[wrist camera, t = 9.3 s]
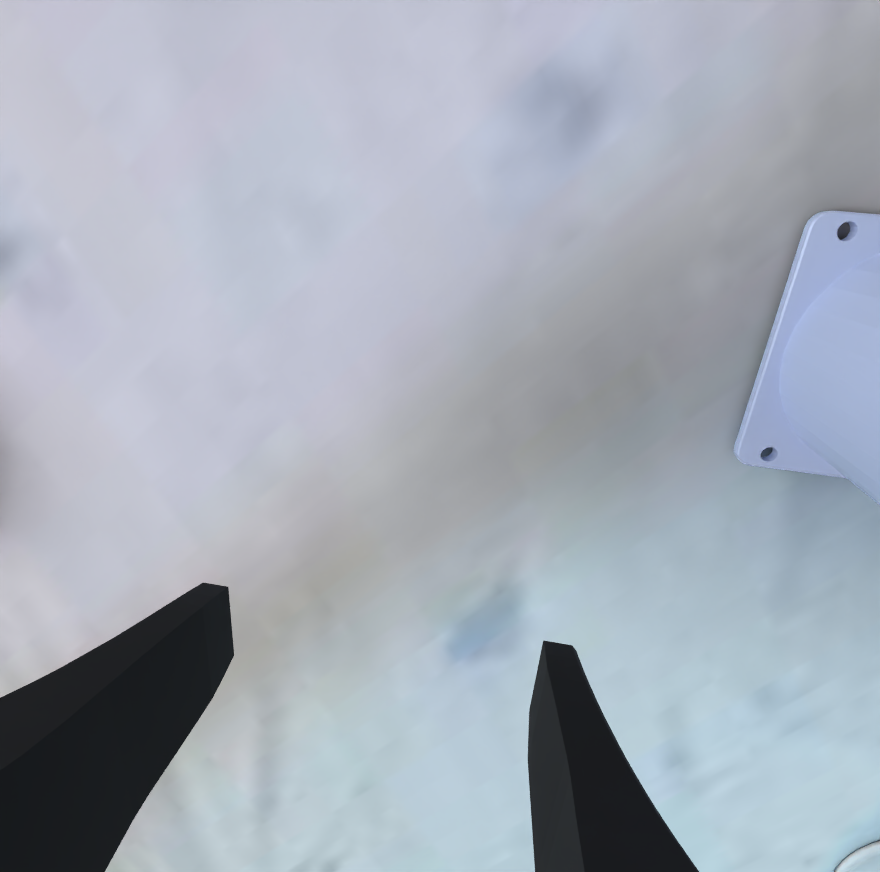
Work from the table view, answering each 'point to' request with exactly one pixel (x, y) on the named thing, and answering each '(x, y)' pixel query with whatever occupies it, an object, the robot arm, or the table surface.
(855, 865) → the lidded bowl
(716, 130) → the table surface
